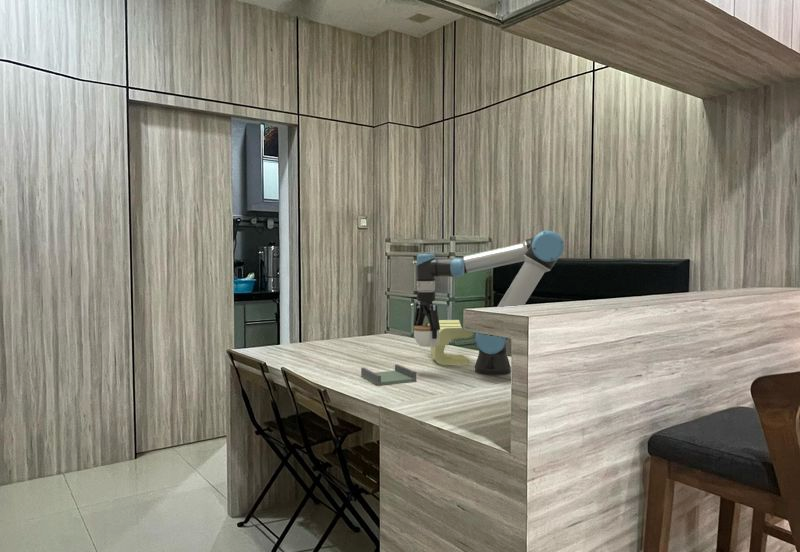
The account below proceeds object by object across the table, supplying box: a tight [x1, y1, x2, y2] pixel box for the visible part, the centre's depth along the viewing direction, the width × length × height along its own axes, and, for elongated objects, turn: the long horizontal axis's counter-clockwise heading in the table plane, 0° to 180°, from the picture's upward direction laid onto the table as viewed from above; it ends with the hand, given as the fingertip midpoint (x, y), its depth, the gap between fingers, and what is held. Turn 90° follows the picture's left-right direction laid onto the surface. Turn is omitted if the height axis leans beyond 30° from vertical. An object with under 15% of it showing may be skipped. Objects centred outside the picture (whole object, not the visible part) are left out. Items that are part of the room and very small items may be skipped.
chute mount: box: [360, 363, 417, 387], centre depth 213 cm, size 16×17×4 cm
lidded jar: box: [413, 322, 439, 348], centre depth 220 cm, size 11×11×9 cm
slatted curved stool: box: [428, 319, 475, 366], centre depth 249 cm, size 30×16×18 cm, turn 7°
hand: (426, 344), depth 220 cm, fingers closed on lidded jar, 11 cm apart
